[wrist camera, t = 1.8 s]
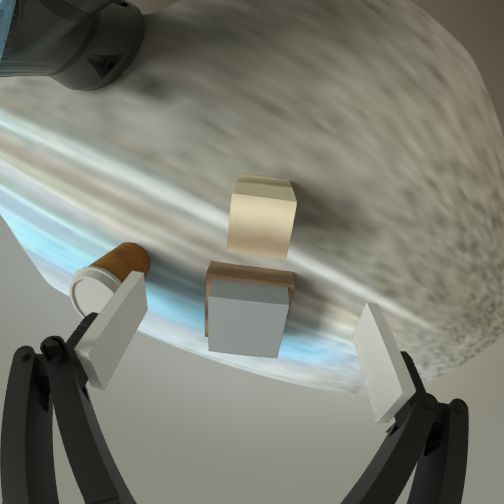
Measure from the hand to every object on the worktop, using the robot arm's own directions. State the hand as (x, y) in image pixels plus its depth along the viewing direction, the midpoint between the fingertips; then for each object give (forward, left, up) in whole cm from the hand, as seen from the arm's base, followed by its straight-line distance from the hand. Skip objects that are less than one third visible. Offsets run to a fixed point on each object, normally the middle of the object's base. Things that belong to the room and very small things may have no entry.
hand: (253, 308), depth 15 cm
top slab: (+16, 0, -19) cm, 24 cm away
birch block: (0, 0, -22) cm, 22 cm away
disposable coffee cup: (+12, -19, -22) cm, 32 cm away
